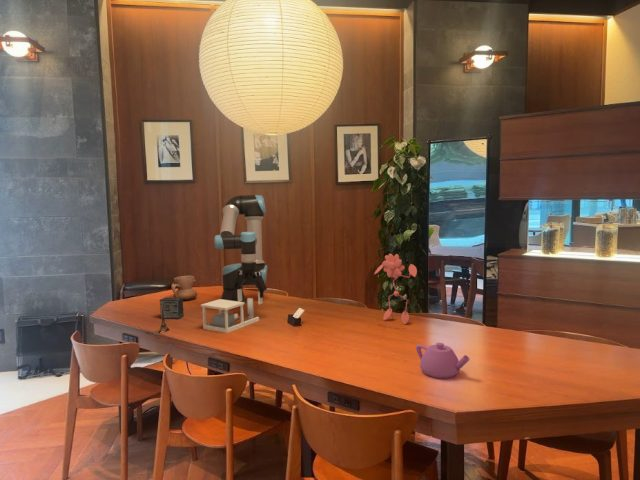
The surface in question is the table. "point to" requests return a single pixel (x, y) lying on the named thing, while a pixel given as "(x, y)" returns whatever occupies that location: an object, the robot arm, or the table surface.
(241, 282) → the robot arm
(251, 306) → the block
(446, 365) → the teapot
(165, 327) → the eiffel tower figurine
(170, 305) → the small box
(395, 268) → the pink flower figurine
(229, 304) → the frame
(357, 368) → the table surface
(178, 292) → the ceramic jug
